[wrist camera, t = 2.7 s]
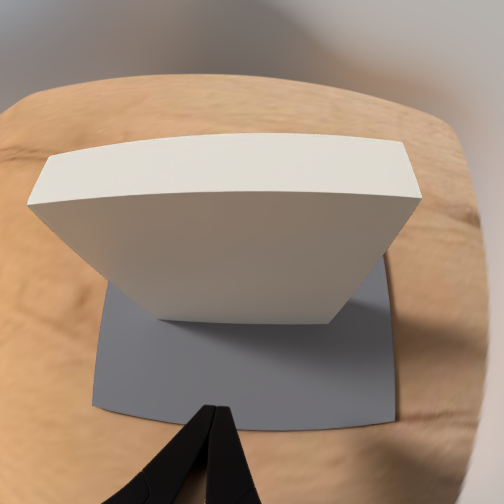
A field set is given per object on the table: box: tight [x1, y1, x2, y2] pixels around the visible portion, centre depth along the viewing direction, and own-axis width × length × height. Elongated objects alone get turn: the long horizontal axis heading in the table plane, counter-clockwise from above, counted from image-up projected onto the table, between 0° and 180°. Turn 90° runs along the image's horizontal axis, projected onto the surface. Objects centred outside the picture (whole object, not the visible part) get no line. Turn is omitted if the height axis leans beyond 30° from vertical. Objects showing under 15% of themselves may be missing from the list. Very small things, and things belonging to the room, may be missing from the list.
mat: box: [92, 256, 395, 430], centre depth 18 cm, size 16×18×1 cm
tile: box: [26, 133, 422, 324], centre depth 12 cm, size 2×10×12 cm, turn 88°
